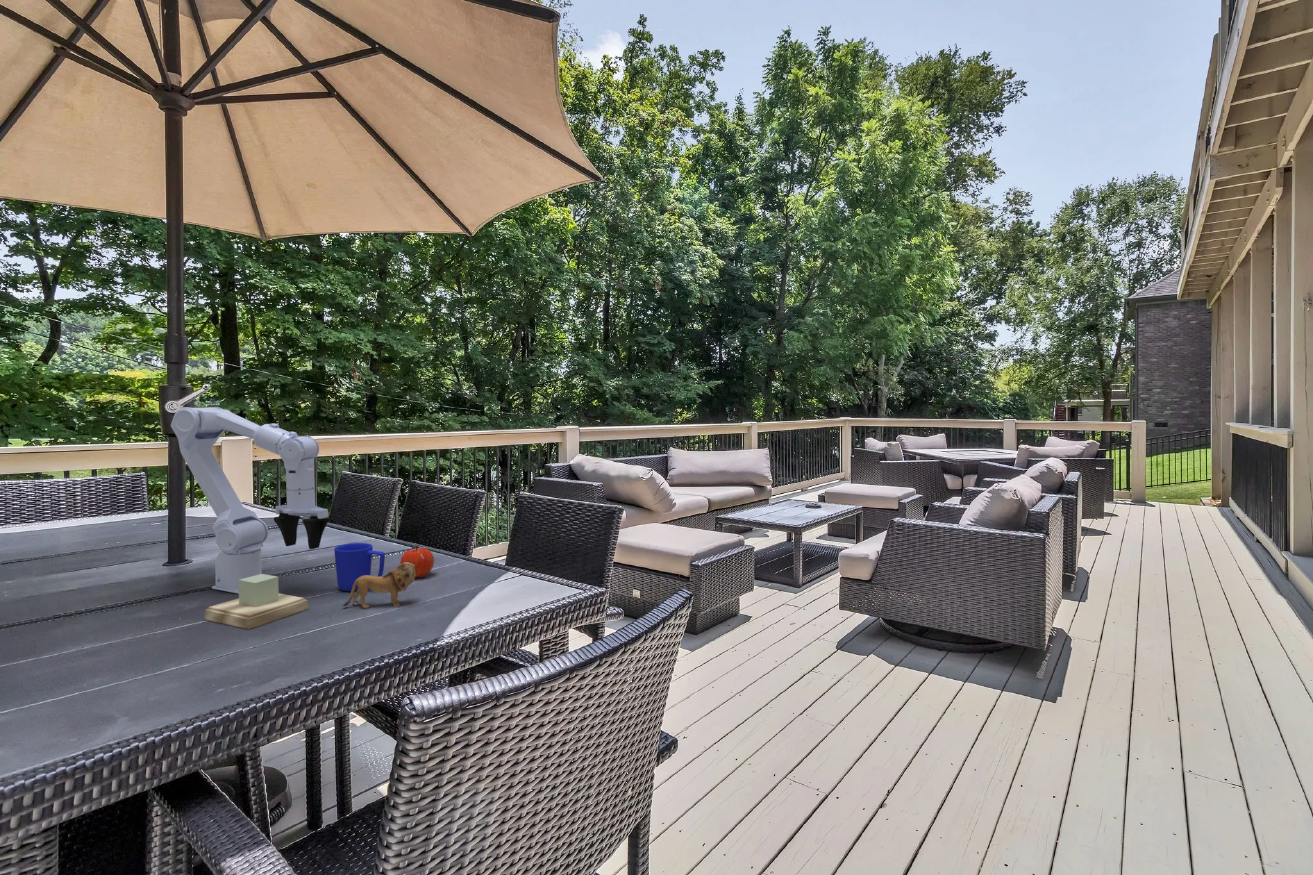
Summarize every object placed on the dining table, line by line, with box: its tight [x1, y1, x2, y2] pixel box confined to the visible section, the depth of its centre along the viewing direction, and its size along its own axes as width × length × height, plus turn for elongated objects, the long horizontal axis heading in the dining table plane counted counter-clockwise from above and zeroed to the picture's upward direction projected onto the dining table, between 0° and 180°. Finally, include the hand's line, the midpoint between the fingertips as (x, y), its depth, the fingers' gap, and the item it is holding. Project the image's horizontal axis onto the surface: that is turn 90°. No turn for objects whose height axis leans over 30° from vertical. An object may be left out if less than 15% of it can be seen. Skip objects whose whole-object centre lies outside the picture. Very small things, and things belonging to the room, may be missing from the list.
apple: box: [399, 545, 435, 579], centre depth 161 cm, size 8×8×8 cm
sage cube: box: [238, 573, 280, 607], centre depth 131 cm, size 5×5×5 cm
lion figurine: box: [342, 562, 416, 609], centre depth 138 cm, size 15×5×9 cm, turn 114°
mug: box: [333, 542, 386, 592], centre depth 149 cm, size 8×12×10 cm
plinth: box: [204, 592, 309, 630], centre depth 131 cm, size 13×13×2 cm
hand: (302, 546), depth 147 cm, fingers open, 7 cm apart
